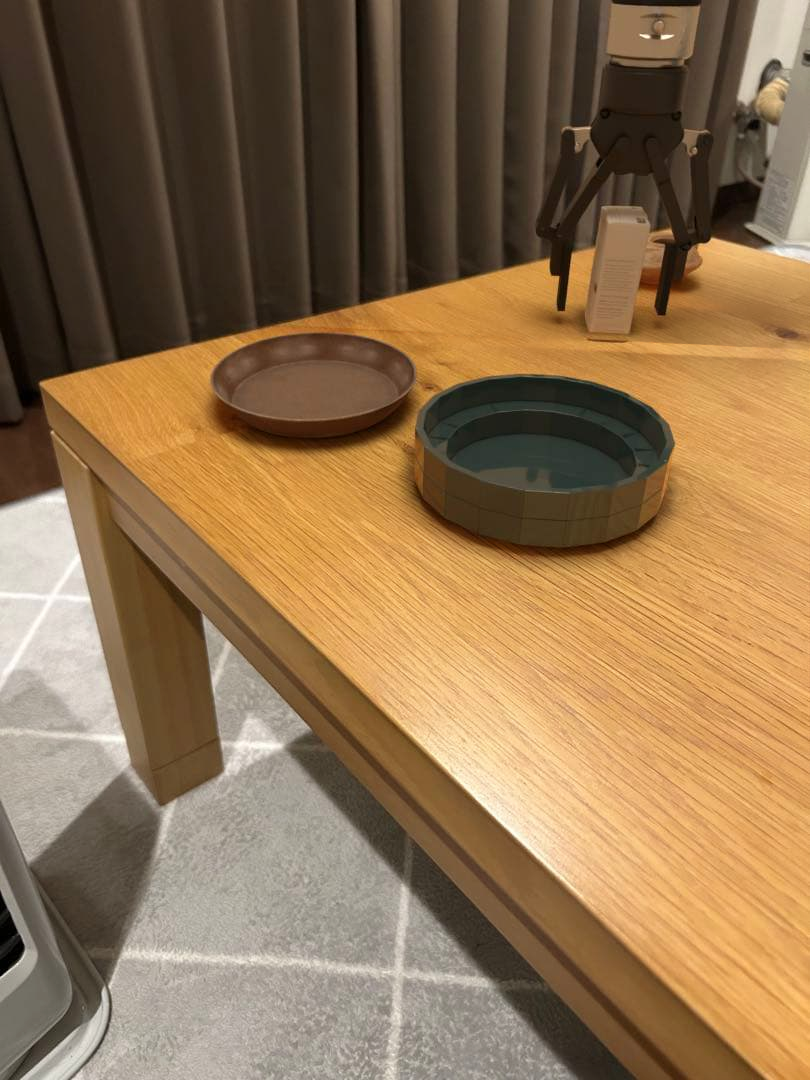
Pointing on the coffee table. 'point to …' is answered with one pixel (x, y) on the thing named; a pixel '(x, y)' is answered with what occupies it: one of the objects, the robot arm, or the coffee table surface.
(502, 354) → the coffee table surface
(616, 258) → the cosmetic box
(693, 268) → the pottery oil lamp
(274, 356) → the plant saucer
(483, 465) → the bowl
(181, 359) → the coffee table surface
